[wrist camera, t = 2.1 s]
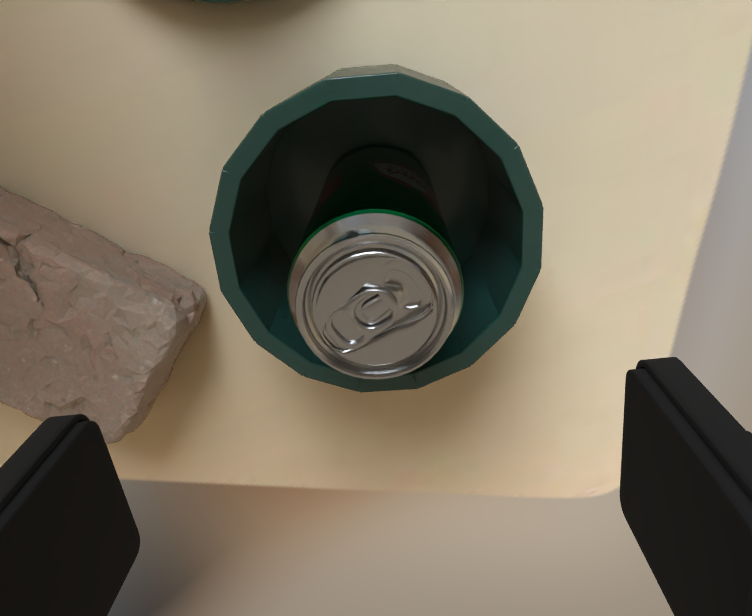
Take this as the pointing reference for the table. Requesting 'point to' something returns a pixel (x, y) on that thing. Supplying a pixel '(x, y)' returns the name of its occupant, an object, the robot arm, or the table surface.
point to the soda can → (376, 268)
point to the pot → (306, 180)
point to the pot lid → (221, 1)
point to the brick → (85, 321)
